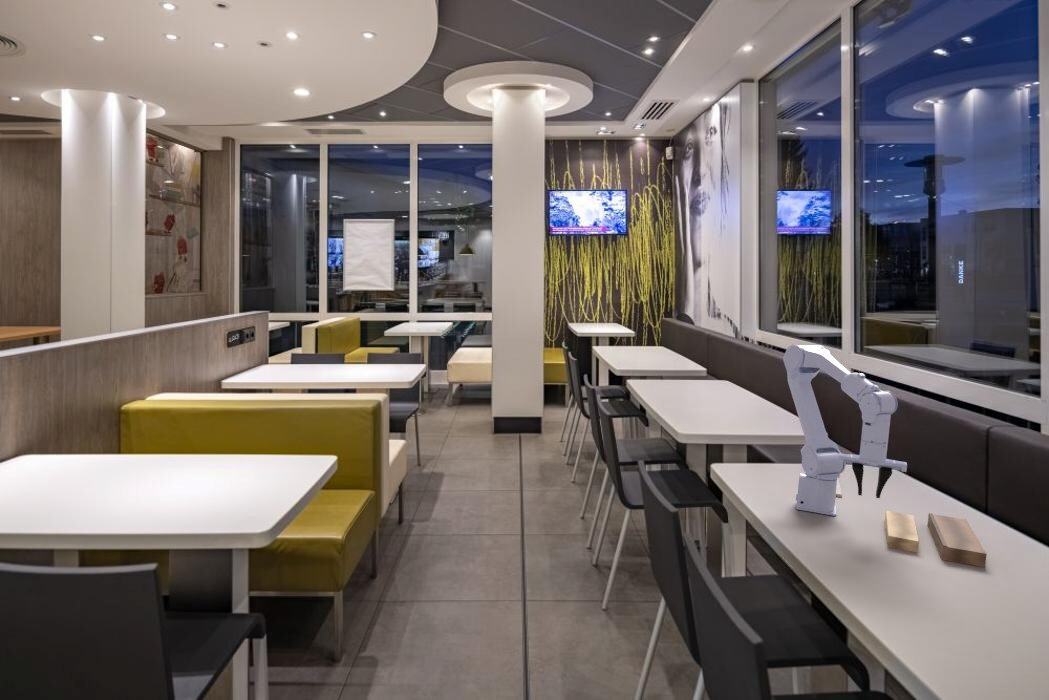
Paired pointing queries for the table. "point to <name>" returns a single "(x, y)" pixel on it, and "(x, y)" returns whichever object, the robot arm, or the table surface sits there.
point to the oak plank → (901, 531)
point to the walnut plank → (956, 540)
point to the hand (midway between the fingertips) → (868, 495)
